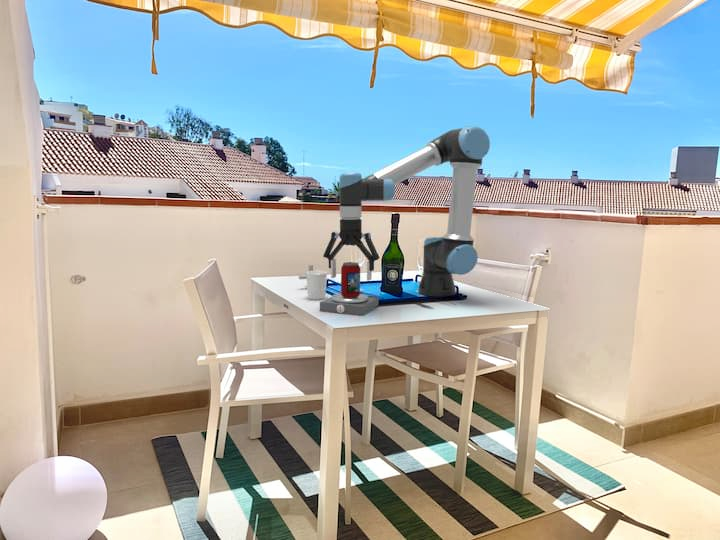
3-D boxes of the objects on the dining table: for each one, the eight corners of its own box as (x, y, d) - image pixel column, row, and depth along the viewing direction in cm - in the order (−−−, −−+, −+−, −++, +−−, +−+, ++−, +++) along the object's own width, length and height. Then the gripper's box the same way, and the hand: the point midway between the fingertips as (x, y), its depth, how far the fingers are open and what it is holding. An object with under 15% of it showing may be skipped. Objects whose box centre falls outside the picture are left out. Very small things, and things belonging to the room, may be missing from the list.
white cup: (315, 294, 198) (315, 270, 196) (330, 297, 193) (331, 272, 191) (302, 298, 191) (302, 272, 190) (317, 301, 187) (317, 275, 185)
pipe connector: (296, 287, 212) (295, 263, 210) (318, 285, 216) (318, 262, 214) (303, 291, 203) (303, 267, 201) (326, 289, 207) (326, 266, 205)
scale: (378, 305, 181) (378, 296, 181) (362, 316, 166) (362, 306, 165) (338, 301, 187) (338, 292, 186) (318, 311, 172) (318, 301, 171)
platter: (373, 297, 180) (373, 294, 180) (360, 305, 168) (360, 302, 168) (340, 294, 184) (340, 291, 184) (325, 301, 172) (325, 298, 172)
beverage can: (353, 299, 171) (353, 265, 169) (337, 297, 175) (337, 263, 173) (363, 296, 177) (364, 263, 175) (347, 293, 181) (348, 261, 179)
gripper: (388, 218, 170) (388, 279, 174) (322, 217, 179) (323, 274, 183) (381, 220, 163) (381, 283, 167) (313, 218, 172) (314, 278, 176)
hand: (351, 278), depth 175 cm, fingers open, 13 cm apart
